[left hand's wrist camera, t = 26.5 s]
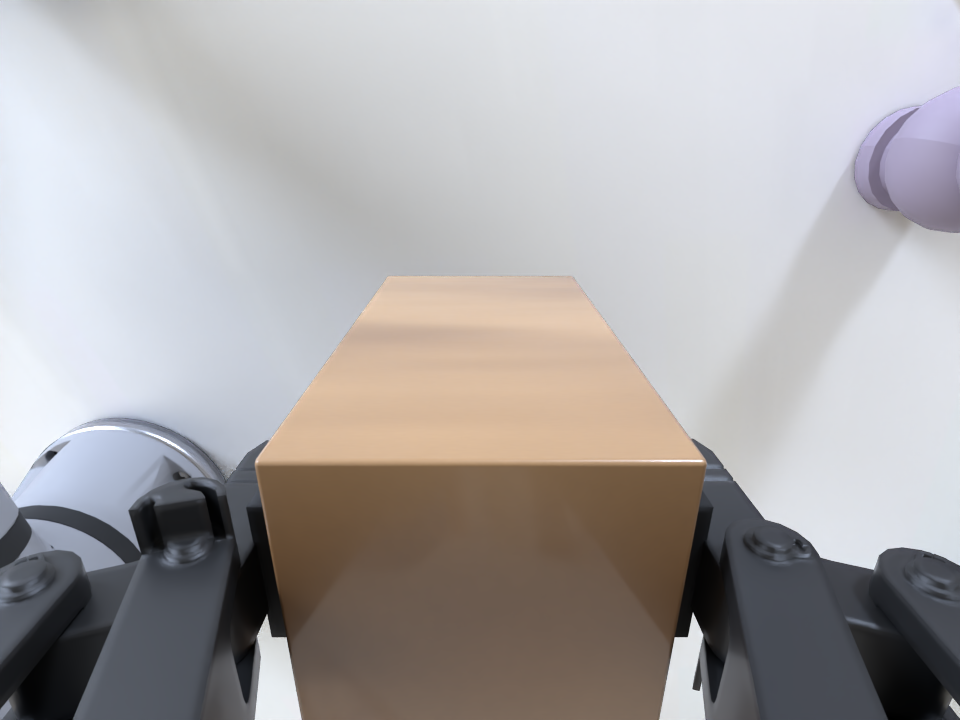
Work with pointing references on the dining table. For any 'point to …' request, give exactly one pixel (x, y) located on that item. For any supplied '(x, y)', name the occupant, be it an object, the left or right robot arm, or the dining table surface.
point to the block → (480, 512)
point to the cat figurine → (916, 163)
